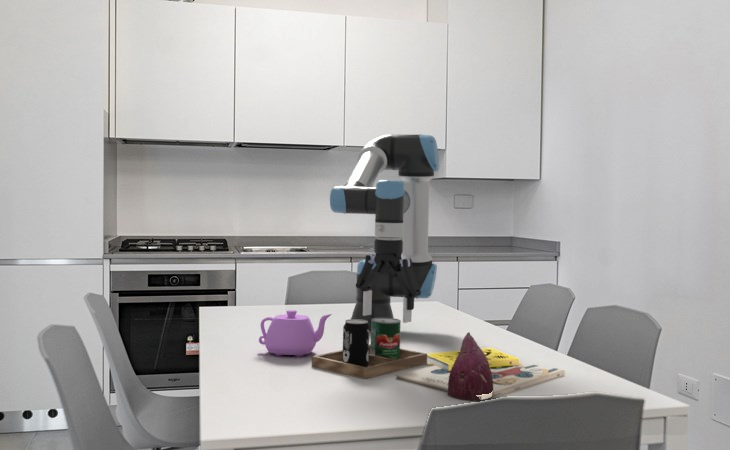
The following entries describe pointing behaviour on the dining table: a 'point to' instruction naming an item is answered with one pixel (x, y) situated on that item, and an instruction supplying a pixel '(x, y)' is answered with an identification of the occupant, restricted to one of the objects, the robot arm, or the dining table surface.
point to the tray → (369, 363)
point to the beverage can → (356, 342)
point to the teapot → (291, 334)
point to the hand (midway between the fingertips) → (386, 318)
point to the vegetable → (470, 372)
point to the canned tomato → (385, 337)
